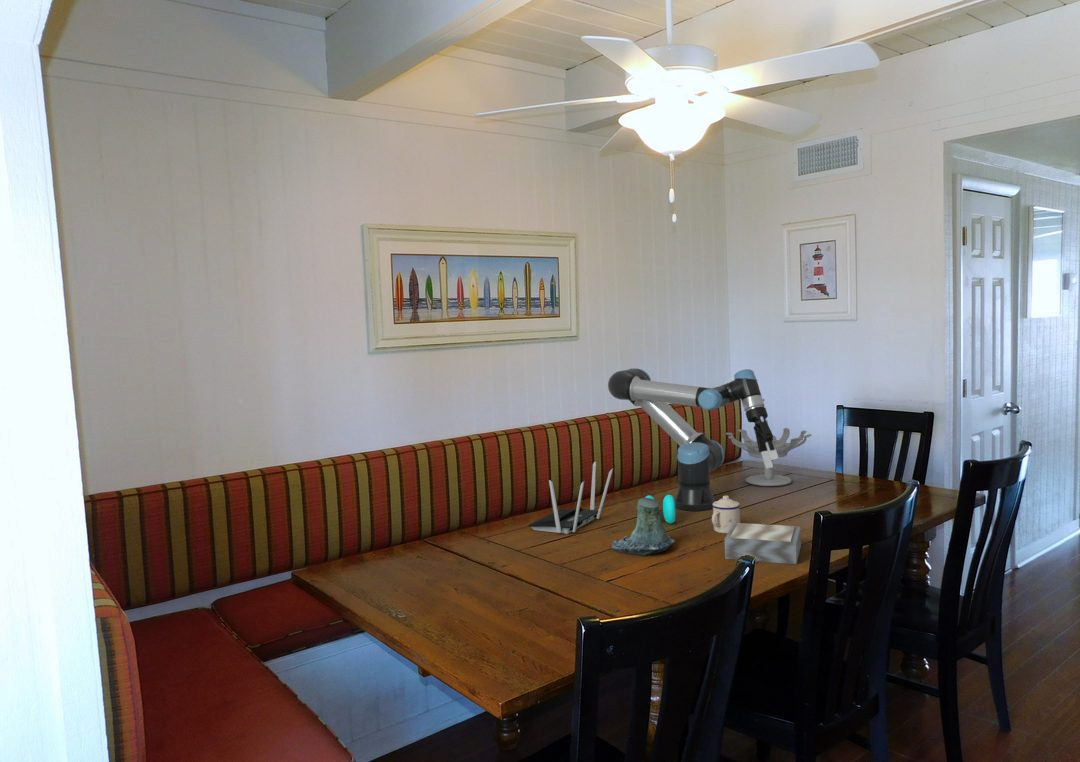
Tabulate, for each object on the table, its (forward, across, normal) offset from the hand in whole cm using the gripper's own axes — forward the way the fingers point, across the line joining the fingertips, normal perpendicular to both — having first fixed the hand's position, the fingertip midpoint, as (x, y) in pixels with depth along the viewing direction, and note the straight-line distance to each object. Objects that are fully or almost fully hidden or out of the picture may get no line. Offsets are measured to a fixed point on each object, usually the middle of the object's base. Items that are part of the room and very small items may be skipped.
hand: (772, 463), depth 275 cm
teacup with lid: (+22, -17, +25) cm, 38 cm away
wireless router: (+8, -9, +75) cm, 76 cm away
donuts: (+14, -8, +45) cm, 47 cm away
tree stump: (+24, -33, +53) cm, 67 cm away
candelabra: (-2, +49, -6) cm, 50 cm away
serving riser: (+33, -38, +18) cm, 54 cm away
